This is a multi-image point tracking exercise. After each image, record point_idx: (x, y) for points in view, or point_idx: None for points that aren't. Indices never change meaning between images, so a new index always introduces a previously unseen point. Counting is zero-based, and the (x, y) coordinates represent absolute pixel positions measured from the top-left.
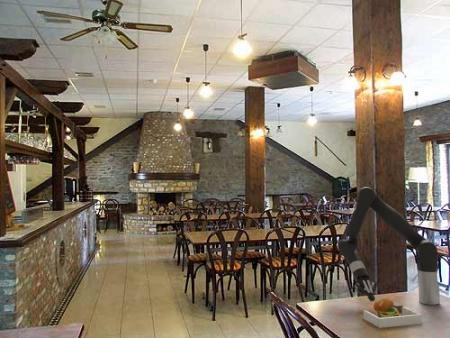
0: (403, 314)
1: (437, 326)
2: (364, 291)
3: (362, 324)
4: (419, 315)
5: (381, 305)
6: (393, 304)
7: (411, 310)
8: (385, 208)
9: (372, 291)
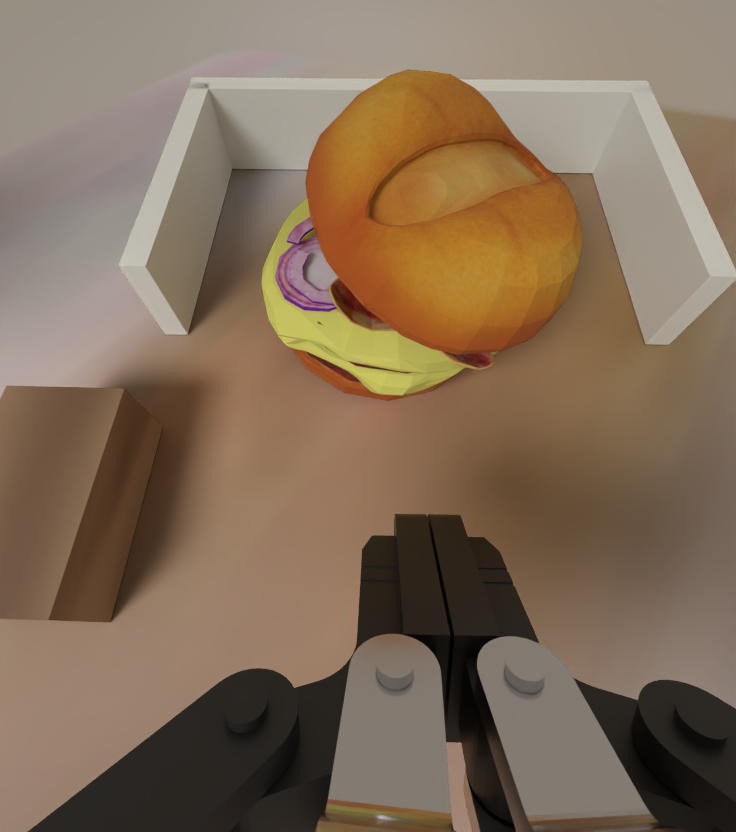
0: (186, 311)
1: (166, 110)
2: (721, 703)
3: (728, 238)
4: (218, 82)
5: (519, 162)
6: (88, 463)
7: (168, 160)
8: None
9: (357, 666)
